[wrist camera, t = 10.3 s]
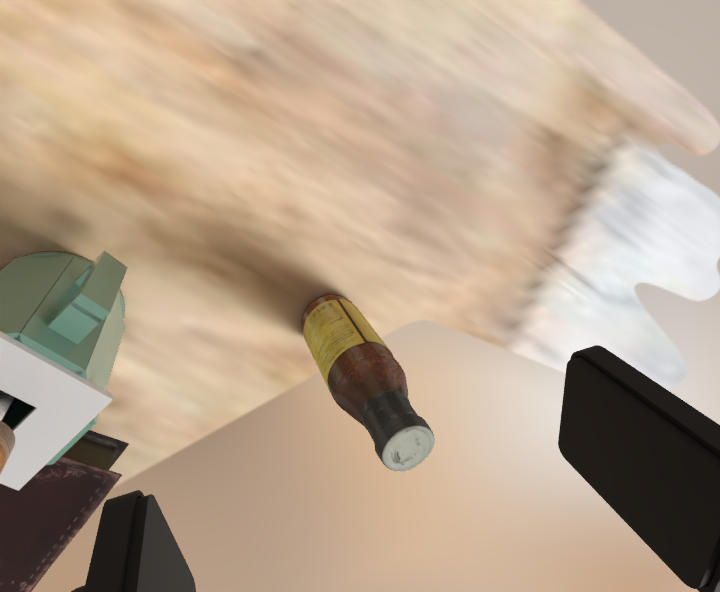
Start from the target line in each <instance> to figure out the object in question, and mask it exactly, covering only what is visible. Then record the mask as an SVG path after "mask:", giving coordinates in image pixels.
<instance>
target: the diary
mask: <svg viewBox="0 0 720 592" xmlns="http://www.w3.org/2000/svg"><path fill="white" fill-rule="evenodd" d="M128 445H129V444H128V443H125V442H122V441H120V440H117V439H114V438H111V437H108V436H105V435H102V434H99V433H96V432H93V431H90V430H88V431H87V432H86V433H85V434H84V435H83V436H82V437H81V438H80V439H79V440H78V441H77V442H76V443H75V444H74V445H73V446H72V447H71V448H70V449H68V450H67V451H66V452H65V453H64V454H63V455H62V456H61V457H60V458H59V459H58V460H57V461H56V462H55V463H54V464H51V465H45V466H44V467H43V468H42V469H41V470H40V471H38V472H37V473H36V474H35V475H34V476H33V477H32V478H31V479H30V480H29V481H28V482H27V483H26V484H25V485H24V486H23V487H22V488H21V489H20V490H19V491H18V490H16V489H13V488H10V487H8V486H5V485H3V484H0V592H31V591H32V590H33V588H34V587H35V586H36V585H37V583H38V582H39V581H40V579H41V578H42V577H43V575H44V574H45V573H46V571H47V570H48V569H49V567H50V566H51V565H52V564H53V562H54V561H55V560H56V559H57V558H58V556H59V555H60V554H61V553H62V551H63V550H64V549H65V548H66V546H67V545H68V544H69V543H70V541H71V540H72V539H73V538H74V537H75V535H76V534H77V533H78V531H79V530H80V529H81V528H82V527H83V525H84V524H85V523H86V522H87V520H88V519H89V518H90V516H91V515H92V514H93V512H94V511H95V510H96V508H97V507H98V506H99V504H100V503H101V502H102V501H103V499H104V498H105V497H106V495H107V494H108V493H109V491H110V490H111V489H112V488H113V486H114V485H115V484H116V482H117V481H118V480H119V478H120V477H121V476H122V475H121V474H119V473H116V472H113V471H109V469H110V468H111V466H112V465H113V464H114V463H115V461H116V460H117V459H118V457H119V456H120V455H121V454H122V452H123V451H124V450H125V449H126V447H127V446H128Z"/></svg>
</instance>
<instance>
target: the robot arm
mask: <svg viewBox="0 0 720 592" xmlns="http://www.w3.org/2000/svg"><path fill="white" fill-rule="evenodd" d="M558 445H559V449H560V451H561V453H562V455H563V457H564V458H565V459H566V460H567V461H568V462H569V463H570V464H571V465H572V466H573V468H574V469H575V470H576V471H577V472H578V473H579V474H580V475H581V476H582V477H583V478H584V479H585V480H586V481H587V482H588V483H589V484H590V485H591V486H592V487H593V488H594V489H595V490H596V492H597V493H598V494H599V495H600V496H601V497H602V498H603V499H604V500H605V501H606V502H607V503H608V504H609V505H610V506H611V507H612V508H613V509H614V510H615V511H616V513H618V515H619V516H620V517H621V518H622V519H623V520H624V521H625V522H626V523H627V524H628V525H629V526H630V527H631V528H632V529H633V530H634V531H635V532H636V533H637V534H638V535H639V536H640V538H641V539H642V540H643V541H644V542H645V543H646V544H647V545H648V546H649V547H650V548H651V549H652V550H653V551H654V552H655V553H656V554H657V555H658V556H659V557H660V559H662V561H663V562H664V563H665V564H666V565H667V566H668V567H669V568H670V569H671V570H672V571H673V572H674V573H675V574H676V575H677V576H678V577H679V578H680V579H681V580H682V581H683V582H684V583H685V584H686V585H687V586H689V587H691V588H694V589H698V591H699V592H720V425H719V424H717V423H716V422H714V421H712V420H711V419H710V418H708V417H706V416H705V415H704V414H702V413H701V412H699V411H698V410H696V409H695V408H693V407H692V406H690V405H689V404H687V403H685V402H684V401H683V400H681V399H680V398H678V397H677V396H675V395H674V394H672V393H671V392H669V391H668V390H666V389H665V388H663V387H662V386H660V385H659V384H657V383H656V382H654V381H653V380H651V379H650V378H648V377H647V376H645V375H644V374H642V373H641V372H639V371H638V370H636V369H635V368H633V367H632V366H630V365H629V364H627V363H626V362H625V361H623V360H622V359H620V358H619V357H617V356H616V355H614V354H613V353H611V352H610V351H608V350H607V349H605V348H603V347H601V346H593V347H590V348H586V349H583V350H580V351H577V352H574V353H573V354H572V356H571V360H570V361H569V362H568V363H567V368H566V378H565V387H564V396H563V405H562V414H561V423H560V432H559V441H558ZM71 592H196V588H195V582H194V578H193V576H192V574H191V571H190V570H189V567H188V565H187V563H186V561H185V559H184V557H183V555H182V553H181V551H180V549H179V547H178V545H177V543H176V541H175V538H174V536H173V535H172V532H171V530H170V528H169V526H168V524H167V522H166V520H165V518H164V516H163V514H162V511H161V509H160V507H159V505H158V503H157V501H156V499H155V497H154V496H153V495H152V494H151V495H148V496H144V495H143V493H142V492H141V491H139V490H138V491H134V492H131V493H128V494H125V495H122V496H118V497H116V498H112V499H109V500H107V501H106V502H105V504H104V507H103V510H102V514H101V519H100V523H99V528H98V532H97V536H96V541H95V545H94V549H93V554H92V558H91V563H90V567H89V572H88V576H87V580H86V584H85V586H82V587H79V588H76V589H75V590H73V591H71Z"/></svg>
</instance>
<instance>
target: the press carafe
mask: <svg viewBox="0 0 720 592" xmlns="http://www.w3.org/2000/svg"><path fill="white" fill-rule="evenodd" d="M126 270H127V267H126V266H125V265H123V264H122V263H121V262H119V261H118V260H117V259H115V258H114V257H112V256H111V255H110V254H108V253H107V252H106V251H104V252H103V253H102V254H101V255H100V256H99V257H98V258H97V259H96V260H95V261H94V262H92V261H90V260H88V259H86V258H83V257H80V256H78V255H74V254H70V253H65V252H57V251H45V252H36V253H31V254H28V255H25V256H22V257H16V258H14V259H13V260H12V261H11V262H10V263H9V264H7V265H6V266H5V267H4V268H3V269H2V270H0V390H2V391H4V392H6V393H8V394H10V395H12V396H14V397H15V398H14V400H13V402H12V403H11V405H10V407H9V408H8V410H7V412H6V414H5V415H4V417H3V419H2V420H1V421H2V422H4V423H5V424H7V425H8V426H9V427H10V428H11V429H12V431H13V433H14V435H15V446H14V448H13V450H12V452H11V454H10V456H9V458H8V460H7V462H6V464H5V466H4V468H3V470H2V472H1V474H0V484H3V485H5V486H8V487H10V488H13V489H16V490H18V491H19V490H20V489H21V488H22V487H23V486H24V485H25V484H26V483H27V482H28V481H29V480H30V479H31V478H32V477H33V476H34V475H35V474H36V473H37V472H38V471H40V470H41V469H42V468H43V467H44V466H45V465H51V464H54V463H55V462H56V461H57V460H58V459H59V458H60V457H61V456H62V455H63V454H64V453H65V452H66V451H67V450H68V449H70V448H71V447H72V446H73V445H74V444H75V443H76V442H77V441H78V440H79V439H80V438H81V437H82V436H83V435H84V434H85V433H86V432H87V431H88V430H89V429H90V428H91V427H92V426H93V425H94V424H96V421H97V417H98V414H99V413H100V412H101V411H102V410H103V409H104V408H105V407H106V406H107V405H108V404H109V403H110V402H111V401H112V400H113V398H114V395H113V394H112V393H110V392H108V391H106V388H107V384H108V381H109V378H110V375H111V371H112V368H113V365H114V361H115V358H116V355H117V352H118V348H119V345H120V342H121V338H122V335H123V332H124V329H125V327H124V320H123V319H124V315H125V303H124V298H123V295H122V292H121V290H120V286H121V283H122V280H123V278H124V275H125V273H126Z"/></svg>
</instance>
